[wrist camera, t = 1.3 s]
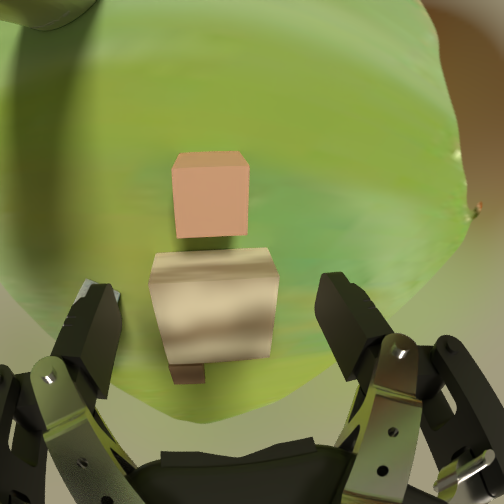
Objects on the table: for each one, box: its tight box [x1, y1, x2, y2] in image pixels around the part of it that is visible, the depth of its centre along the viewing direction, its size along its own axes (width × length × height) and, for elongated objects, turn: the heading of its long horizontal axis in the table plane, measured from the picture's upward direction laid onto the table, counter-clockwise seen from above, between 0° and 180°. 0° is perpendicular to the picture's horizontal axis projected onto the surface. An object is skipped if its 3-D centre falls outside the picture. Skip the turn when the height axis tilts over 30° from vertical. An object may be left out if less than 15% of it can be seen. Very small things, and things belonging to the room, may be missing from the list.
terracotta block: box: [172, 151, 250, 238], centre depth 21 cm, size 5×5×6 cm
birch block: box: [148, 247, 279, 364], centre depth 27 cm, size 11×11×5 cm
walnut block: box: [168, 363, 205, 384], centre depth 32 cm, size 4×4×4 cm
